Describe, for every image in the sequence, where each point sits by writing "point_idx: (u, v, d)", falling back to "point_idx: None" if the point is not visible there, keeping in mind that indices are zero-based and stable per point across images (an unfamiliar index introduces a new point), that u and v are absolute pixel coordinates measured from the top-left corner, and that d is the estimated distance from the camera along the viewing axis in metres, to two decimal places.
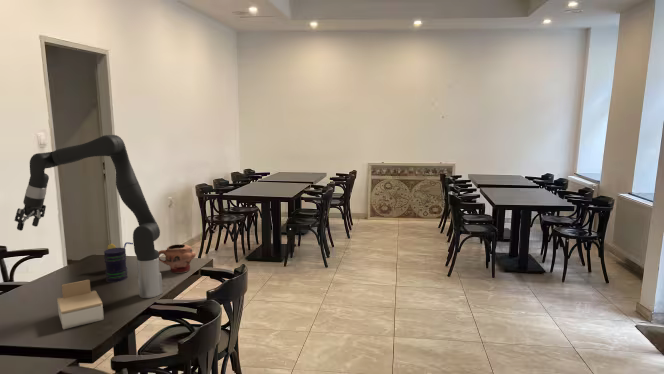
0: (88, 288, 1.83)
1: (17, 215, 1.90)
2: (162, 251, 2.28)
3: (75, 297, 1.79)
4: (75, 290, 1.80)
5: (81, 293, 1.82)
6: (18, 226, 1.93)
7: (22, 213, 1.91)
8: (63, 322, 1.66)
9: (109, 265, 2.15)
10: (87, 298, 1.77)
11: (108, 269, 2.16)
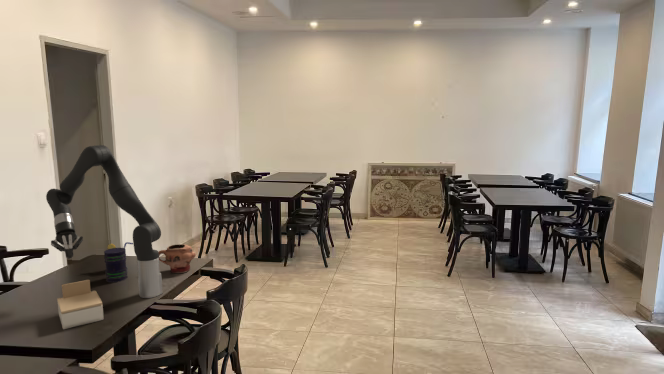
0: (88, 288, 1.83)
1: (55, 247, 1.92)
2: (162, 251, 2.28)
3: (75, 297, 1.79)
4: (75, 290, 1.80)
5: (81, 293, 1.82)
6: None
7: (54, 242, 1.91)
8: (63, 322, 1.66)
9: (109, 265, 2.15)
10: (87, 298, 1.77)
11: (108, 269, 2.16)
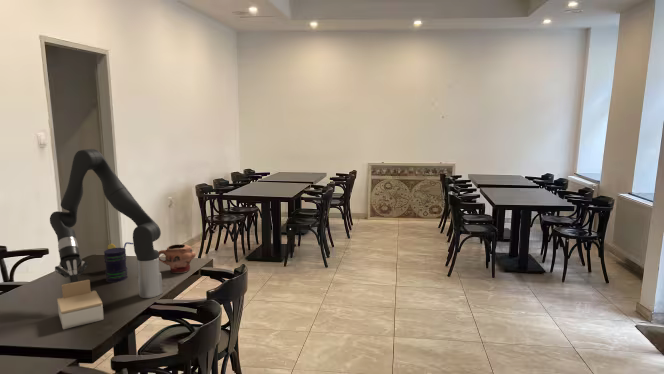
0: (88, 288, 1.83)
1: (60, 273, 1.85)
2: (162, 251, 2.28)
3: (75, 297, 1.79)
4: (75, 290, 1.80)
5: (81, 293, 1.82)
6: (70, 280, 1.85)
7: (58, 268, 1.85)
8: (63, 322, 1.66)
9: (109, 265, 2.15)
10: (87, 298, 1.77)
11: (108, 269, 2.16)
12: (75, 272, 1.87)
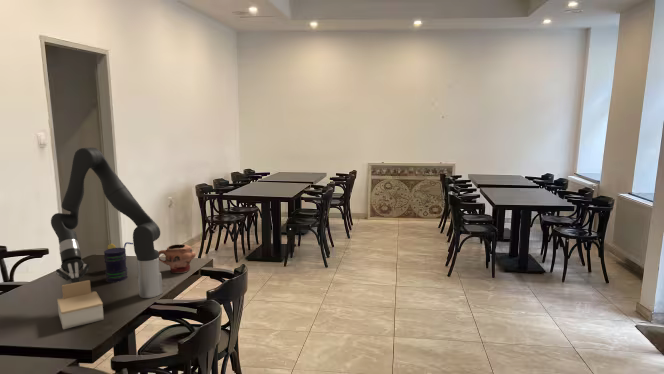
0: (88, 289, 1.83)
1: (61, 276, 1.82)
2: (162, 251, 2.28)
3: (75, 298, 1.78)
4: (76, 290, 1.80)
5: (81, 294, 1.81)
6: None
7: (59, 271, 1.81)
8: (63, 322, 1.66)
9: (109, 265, 2.15)
10: (87, 299, 1.77)
11: (108, 269, 2.16)
12: (77, 275, 1.83)
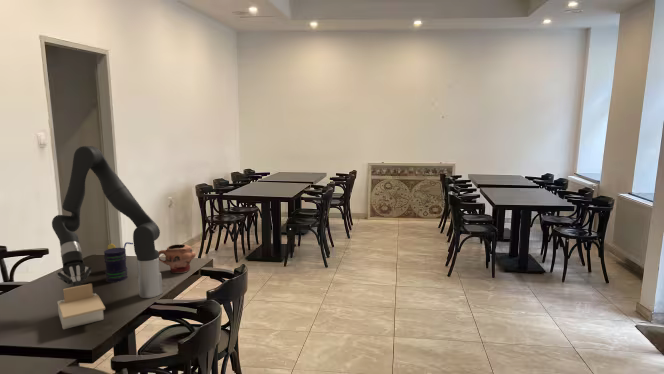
0: (90, 292, 1.78)
1: (62, 279, 1.78)
2: (162, 251, 2.28)
3: (77, 302, 1.74)
4: (77, 294, 1.76)
5: (83, 298, 1.77)
6: None
7: (60, 275, 1.77)
8: (63, 322, 1.66)
9: (109, 265, 2.15)
10: (89, 303, 1.73)
11: (108, 269, 2.16)
12: (78, 278, 1.79)
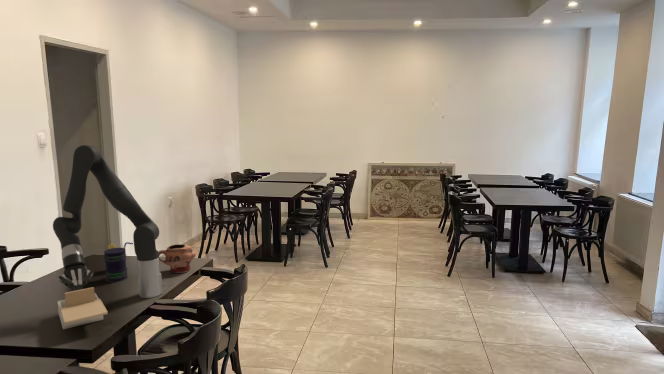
0: (92, 296, 1.74)
1: (64, 283, 1.74)
2: (162, 251, 2.28)
3: (79, 306, 1.70)
4: (79, 298, 1.72)
5: (84, 302, 1.73)
6: None
7: (62, 278, 1.73)
8: (63, 322, 1.66)
9: (109, 265, 2.15)
10: (91, 307, 1.69)
11: (108, 269, 2.16)
12: (80, 282, 1.75)
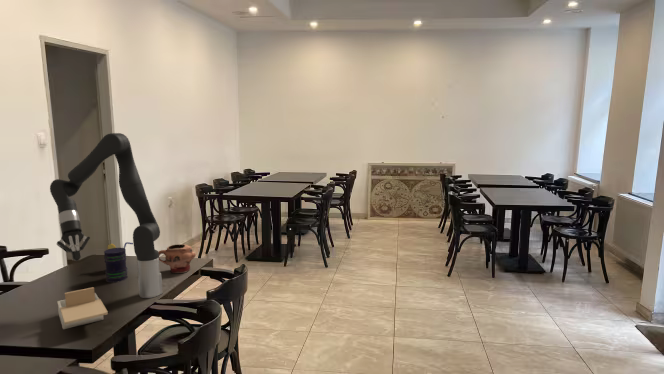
0: (92, 296, 1.74)
1: (62, 248, 1.84)
2: (162, 251, 2.28)
3: (79, 306, 1.70)
4: (79, 298, 1.71)
5: (84, 302, 1.73)
6: (72, 256, 1.85)
7: (60, 244, 1.83)
8: (63, 322, 1.66)
9: (109, 265, 2.15)
10: (91, 307, 1.69)
11: (108, 269, 2.16)
12: (77, 248, 1.86)
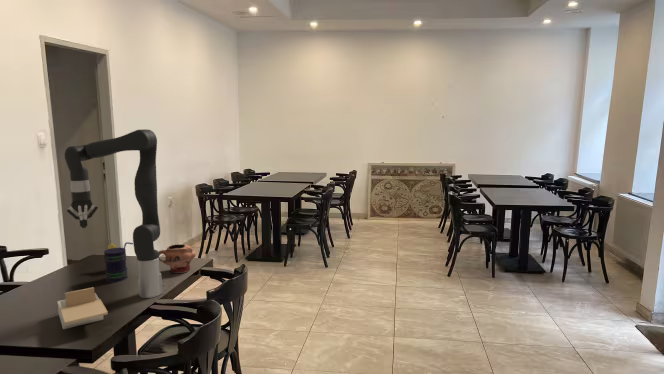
0: (92, 296, 1.74)
1: (71, 214, 1.95)
2: (162, 251, 2.28)
3: (79, 306, 1.70)
4: (79, 298, 1.71)
5: (84, 302, 1.73)
6: None
7: (69, 212, 1.93)
8: (63, 322, 1.66)
9: (109, 265, 2.15)
10: (91, 307, 1.69)
11: (108, 269, 2.16)
12: (85, 217, 1.97)
